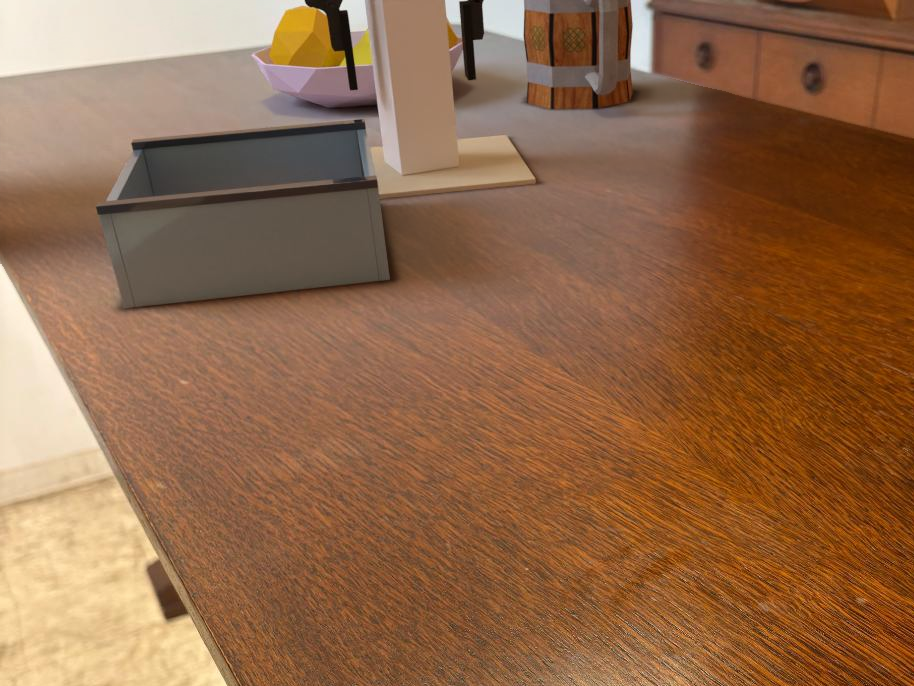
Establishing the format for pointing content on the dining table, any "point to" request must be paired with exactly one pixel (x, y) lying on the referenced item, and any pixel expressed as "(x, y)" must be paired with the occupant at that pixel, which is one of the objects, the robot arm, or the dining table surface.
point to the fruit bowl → (323, 61)
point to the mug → (578, 53)
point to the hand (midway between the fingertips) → (412, 82)
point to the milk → (413, 84)
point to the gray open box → (245, 214)
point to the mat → (458, 170)
